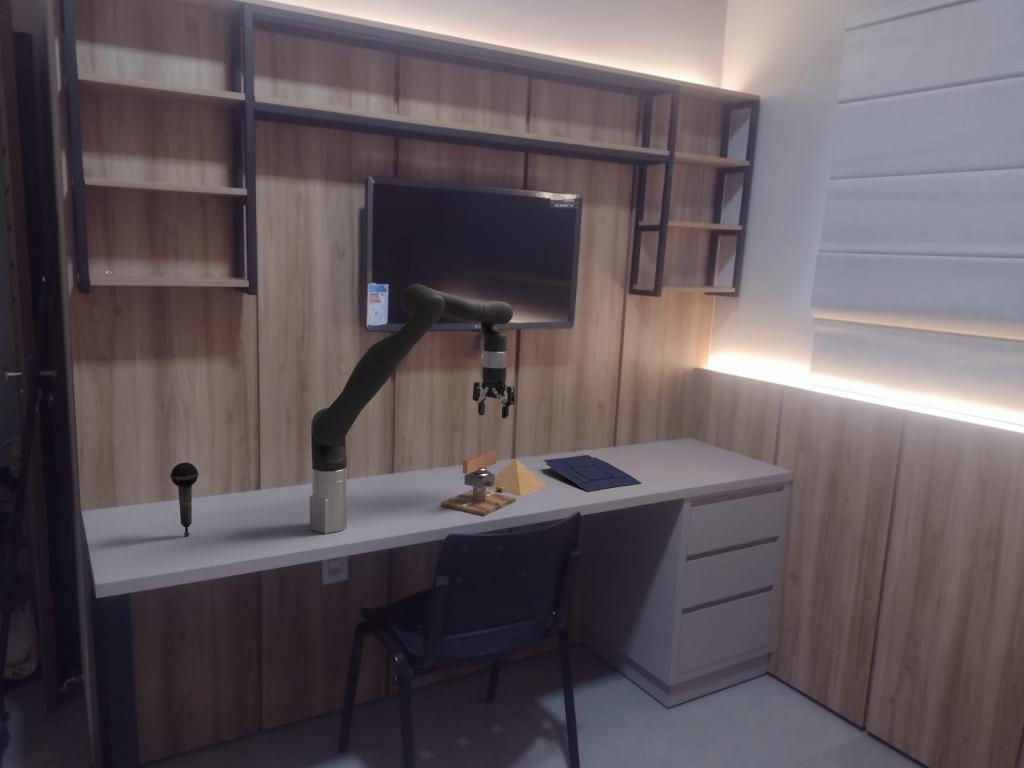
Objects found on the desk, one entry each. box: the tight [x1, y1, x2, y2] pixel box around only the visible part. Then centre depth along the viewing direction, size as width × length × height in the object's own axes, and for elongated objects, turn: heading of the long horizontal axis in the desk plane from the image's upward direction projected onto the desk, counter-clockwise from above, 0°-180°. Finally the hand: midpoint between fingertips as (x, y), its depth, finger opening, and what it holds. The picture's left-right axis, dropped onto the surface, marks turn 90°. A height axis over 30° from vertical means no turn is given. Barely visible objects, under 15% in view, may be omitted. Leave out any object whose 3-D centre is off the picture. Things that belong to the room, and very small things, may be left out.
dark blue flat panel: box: [543, 454, 642, 492], centre depth 267 cm, size 24×30×4 cm
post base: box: [440, 486, 517, 517], centre depth 232 cm, size 18×16×9 cm
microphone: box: [169, 462, 200, 537], centre depth 195 cm, size 7×7×20 cm
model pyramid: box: [486, 458, 548, 497], centre depth 252 cm, size 17×17×10 cm
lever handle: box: [462, 450, 497, 488], centre depth 231 cm, size 10×16×9 cm, turn 148°
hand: (492, 416), depth 234 cm, fingers open, 8 cm apart
